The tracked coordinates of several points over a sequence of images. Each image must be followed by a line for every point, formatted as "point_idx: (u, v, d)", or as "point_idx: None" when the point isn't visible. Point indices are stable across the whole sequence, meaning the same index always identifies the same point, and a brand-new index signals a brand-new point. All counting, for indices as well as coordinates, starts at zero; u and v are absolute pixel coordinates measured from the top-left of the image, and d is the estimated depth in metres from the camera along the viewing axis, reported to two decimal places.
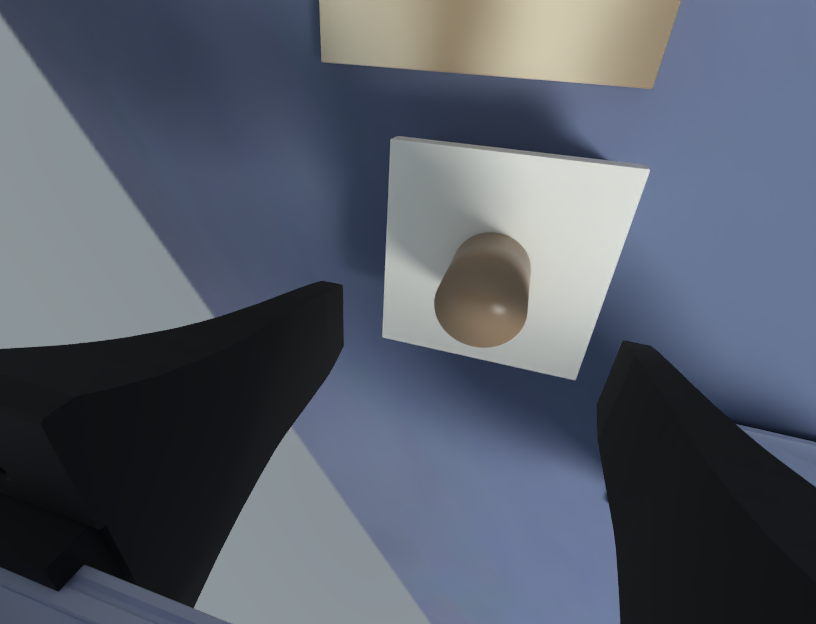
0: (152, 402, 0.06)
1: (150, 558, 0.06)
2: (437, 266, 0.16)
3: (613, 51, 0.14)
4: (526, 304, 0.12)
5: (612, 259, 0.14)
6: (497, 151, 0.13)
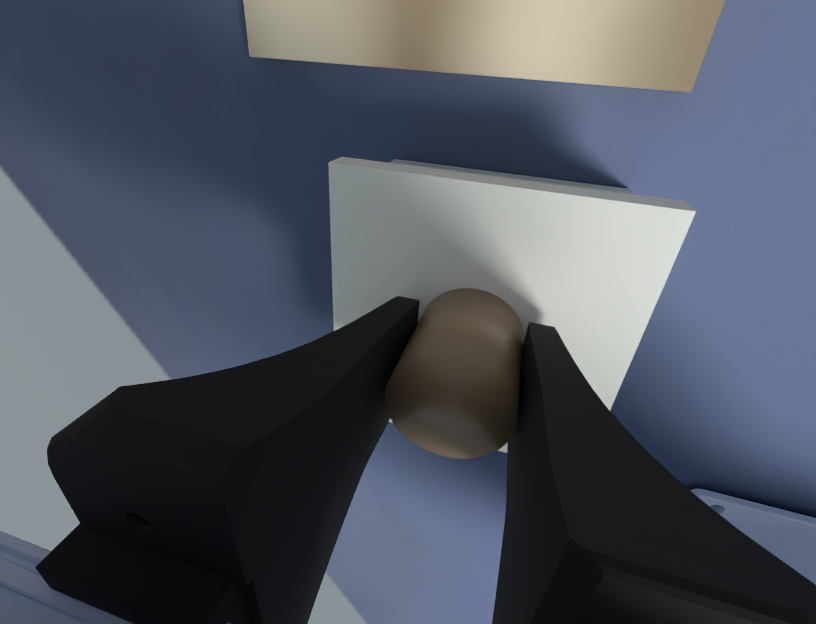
0: (292, 443, 0.05)
1: (276, 606, 0.06)
2: None
3: (637, 39, 0.10)
4: (515, 410, 0.08)
5: (636, 329, 0.10)
6: (475, 181, 0.09)
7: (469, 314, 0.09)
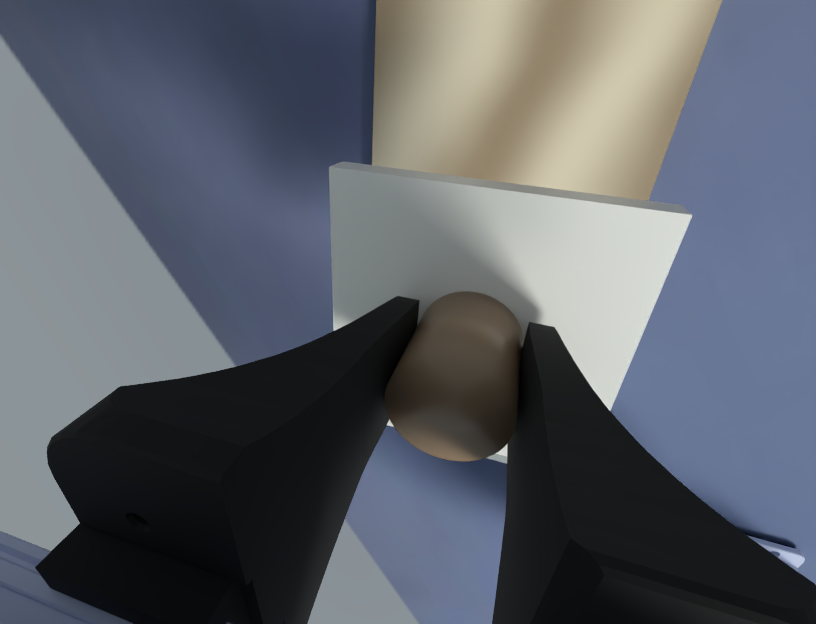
0: (292, 443, 0.05)
1: (276, 606, 0.06)
2: None
3: None
4: (514, 412, 0.08)
5: (634, 331, 0.10)
6: (474, 185, 0.09)
7: (468, 317, 0.09)
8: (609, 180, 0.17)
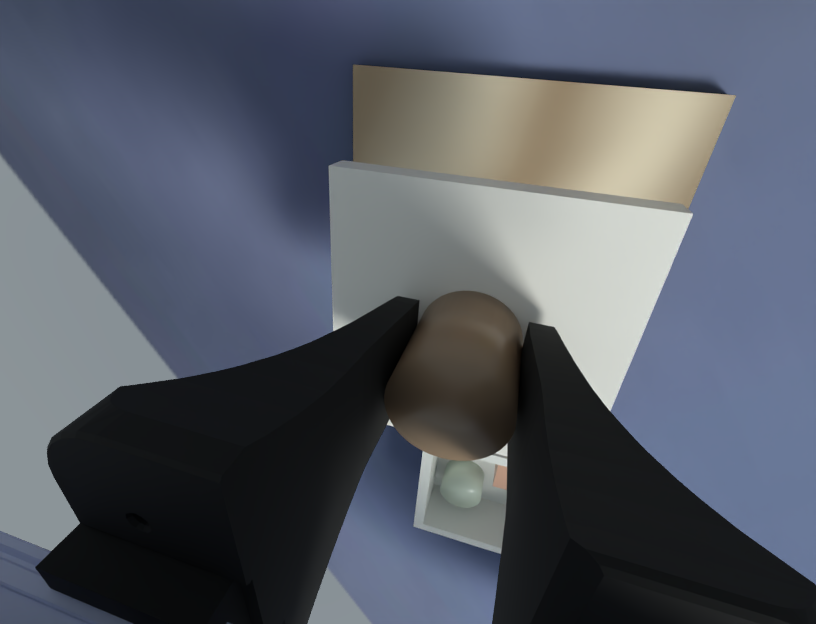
0: (292, 443, 0.05)
1: (276, 606, 0.06)
2: None
3: None
4: (514, 411, 0.08)
5: (635, 331, 0.10)
6: (474, 184, 0.09)
7: (468, 316, 0.09)
8: None
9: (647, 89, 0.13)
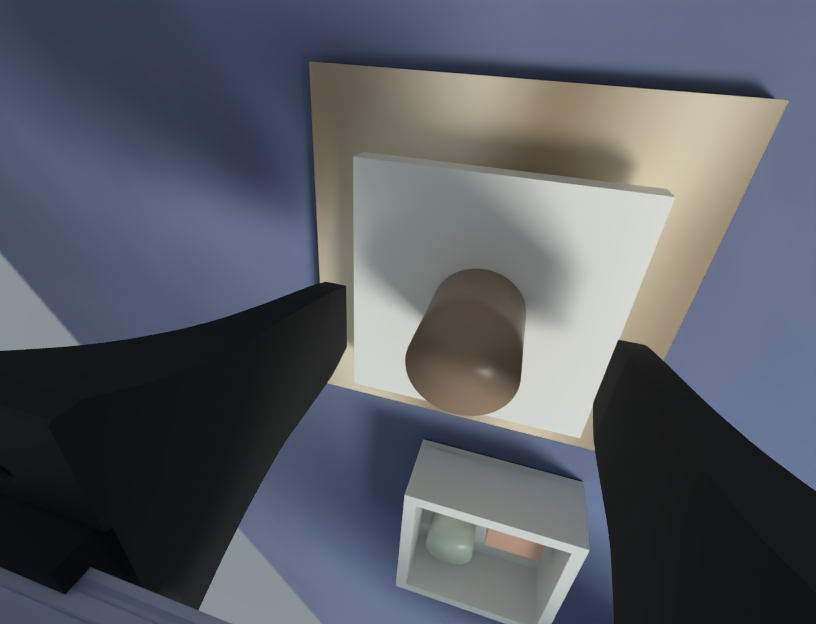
0: (159, 404, 0.06)
1: (156, 560, 0.06)
2: (414, 306, 0.13)
3: None
4: (519, 369, 0.10)
5: (625, 303, 0.11)
6: (483, 172, 0.11)
7: (478, 289, 0.11)
8: None
9: (674, 92, 0.10)
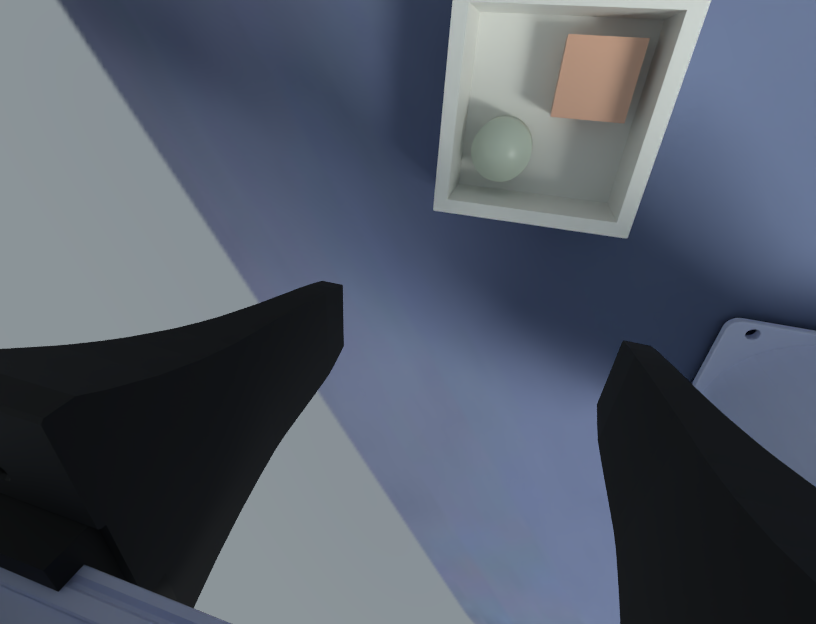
0: (152, 402, 0.06)
1: (150, 558, 0.06)
2: None
3: None
4: None
5: None
6: None
7: None
8: None
9: None
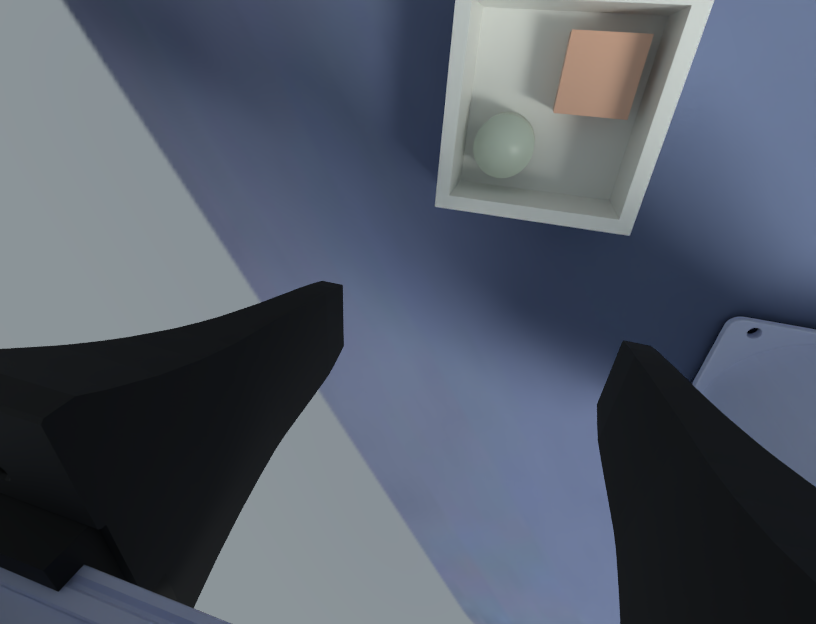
0: (152, 402, 0.06)
1: (150, 558, 0.06)
2: None
3: None
4: None
5: None
6: None
7: None
8: None
9: None
